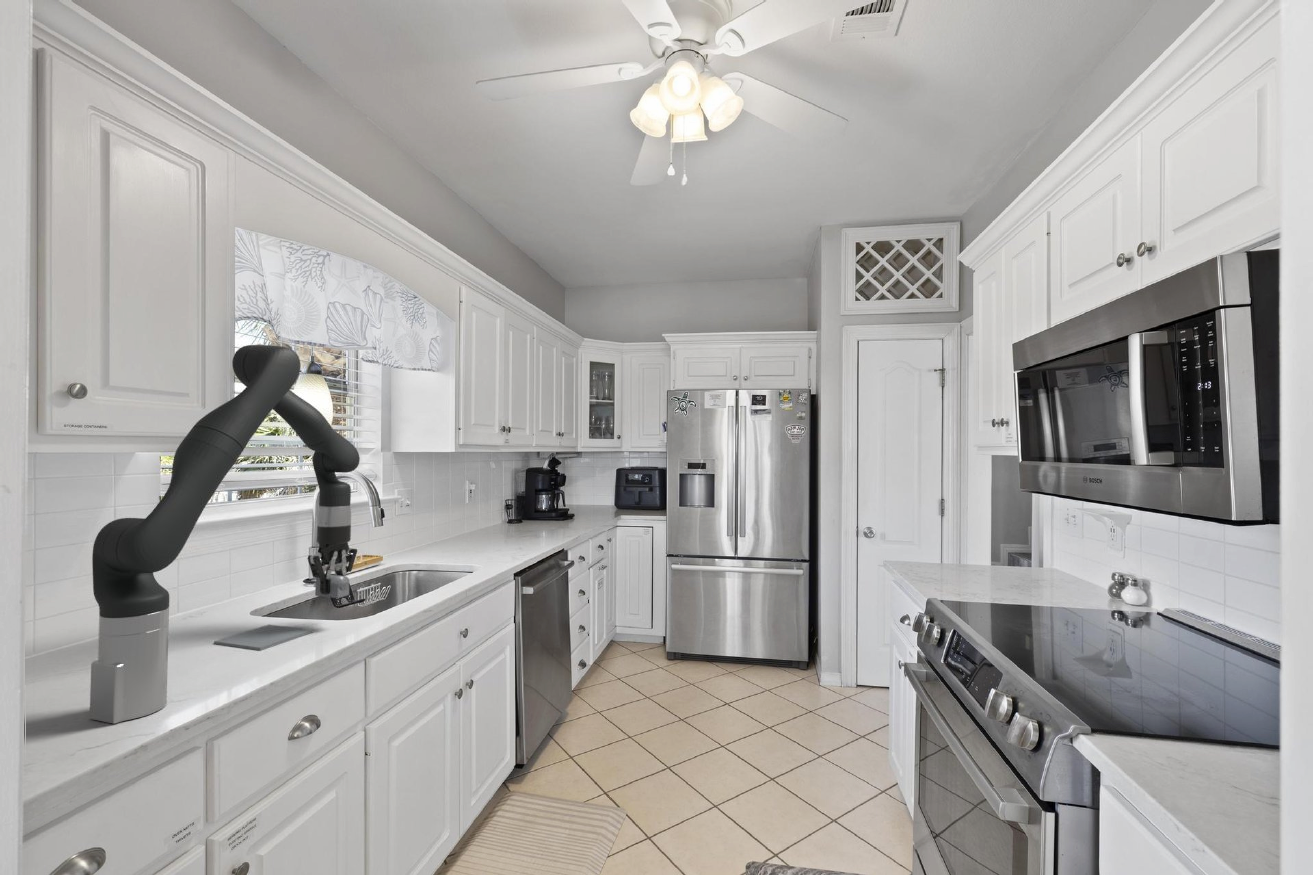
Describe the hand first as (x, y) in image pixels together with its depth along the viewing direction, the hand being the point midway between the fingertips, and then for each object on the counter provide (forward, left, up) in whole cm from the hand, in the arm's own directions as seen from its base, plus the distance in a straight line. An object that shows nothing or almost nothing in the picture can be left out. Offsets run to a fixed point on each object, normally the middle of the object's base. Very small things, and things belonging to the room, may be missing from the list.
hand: (332, 591), depth 152 cm
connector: (0, 0, -1) cm, 1 cm away
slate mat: (-11, +9, -9) cm, 17 cm away
